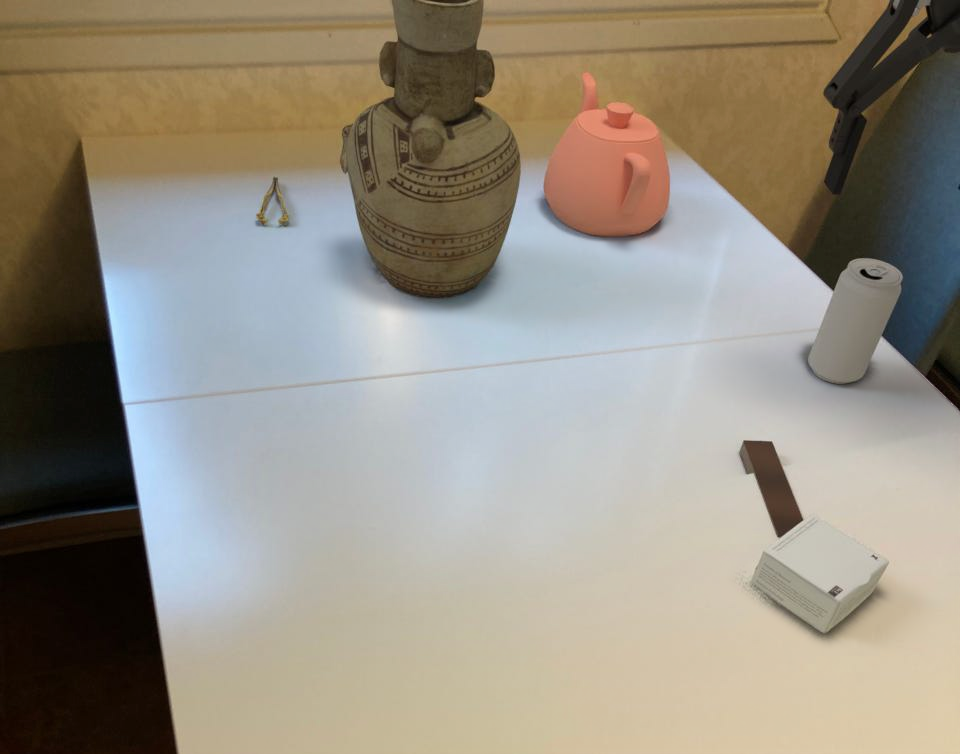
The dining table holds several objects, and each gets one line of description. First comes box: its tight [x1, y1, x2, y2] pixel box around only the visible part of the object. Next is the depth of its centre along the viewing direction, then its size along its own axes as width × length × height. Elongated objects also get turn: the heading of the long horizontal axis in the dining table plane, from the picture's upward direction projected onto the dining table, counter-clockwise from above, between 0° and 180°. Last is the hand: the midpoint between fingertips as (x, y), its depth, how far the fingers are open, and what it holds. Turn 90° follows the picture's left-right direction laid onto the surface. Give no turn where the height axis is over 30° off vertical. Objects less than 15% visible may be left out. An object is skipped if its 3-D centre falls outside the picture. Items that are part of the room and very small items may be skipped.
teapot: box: [542, 71, 671, 237], centre depth 123 cm, size 25×17×13 cm
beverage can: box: [807, 257, 904, 385], centre depth 101 cm, size 6×6×12 cm
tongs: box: [255, 176, 290, 227], centre depth 121 cm, size 4×13×2 cm, turn 11°
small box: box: [749, 513, 890, 634], centre depth 79 cm, size 8×8×5 cm
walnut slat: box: [739, 439, 804, 539], centre depth 89 cm, size 14×3×2 cm, turn 2°
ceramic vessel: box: [339, 0, 522, 299], centre depth 102 cm, size 19×21×30 cm
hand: (899, 192), depth 89 cm, fingers open, 13 cm apart
